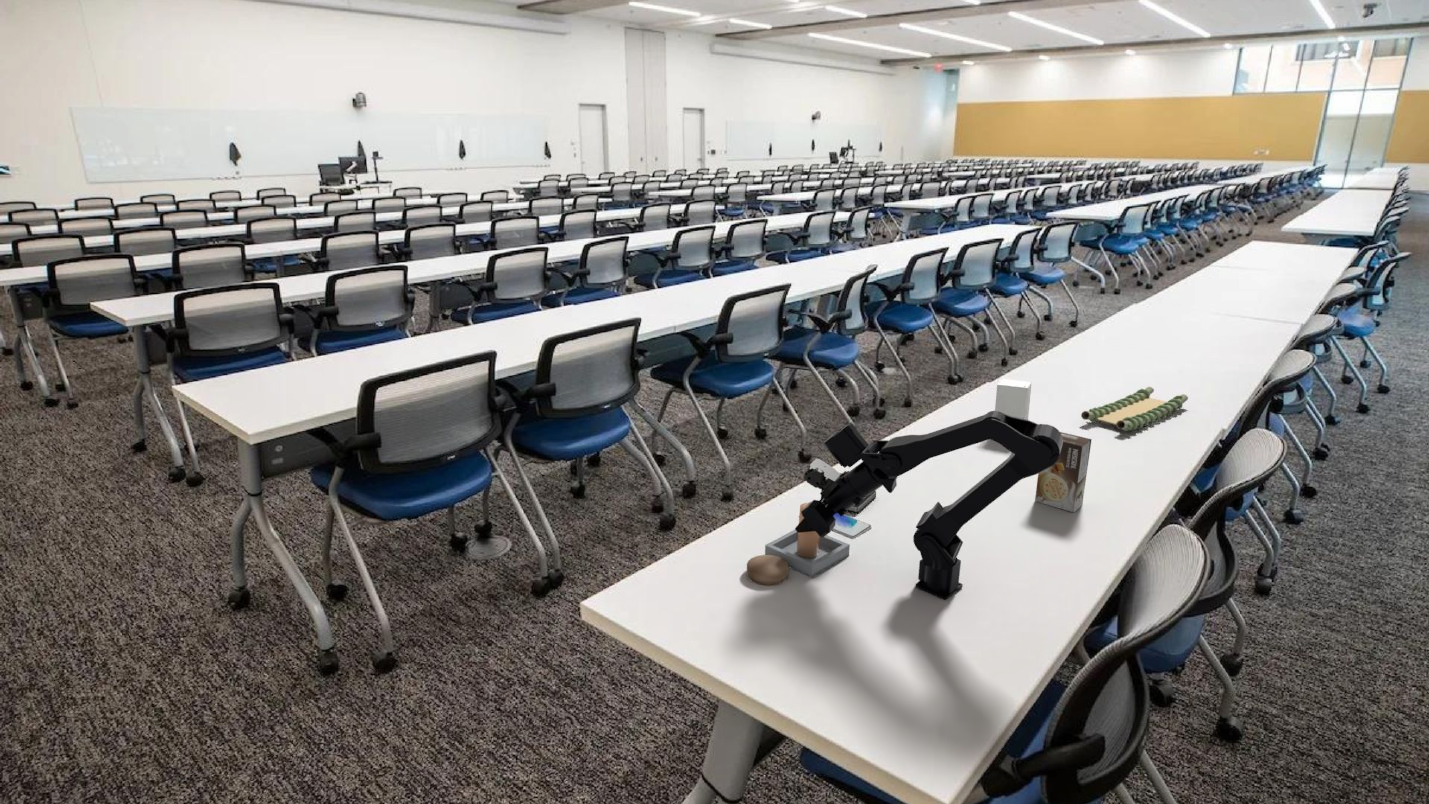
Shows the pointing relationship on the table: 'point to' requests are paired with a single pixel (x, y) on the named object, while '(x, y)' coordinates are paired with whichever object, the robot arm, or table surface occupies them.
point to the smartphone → (850, 526)
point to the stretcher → (1135, 410)
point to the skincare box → (1013, 398)
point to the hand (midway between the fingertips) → (801, 524)
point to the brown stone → (767, 570)
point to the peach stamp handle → (807, 540)
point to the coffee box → (1065, 475)
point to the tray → (827, 557)
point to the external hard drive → (862, 503)
